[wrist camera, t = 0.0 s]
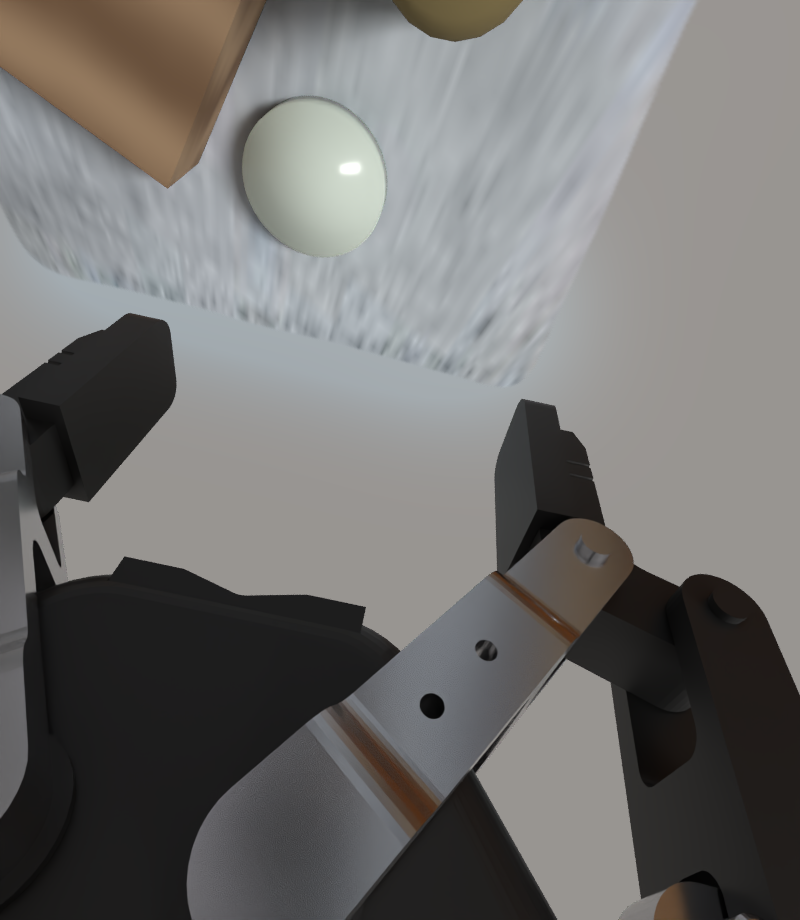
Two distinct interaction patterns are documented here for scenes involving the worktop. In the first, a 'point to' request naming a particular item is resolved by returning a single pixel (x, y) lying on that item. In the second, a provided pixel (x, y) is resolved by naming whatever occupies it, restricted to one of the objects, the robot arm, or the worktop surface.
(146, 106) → the walnut plinth
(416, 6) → the olive stamp handle
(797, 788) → the robot arm
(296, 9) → the worktop surface
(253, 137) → the white domed disc
